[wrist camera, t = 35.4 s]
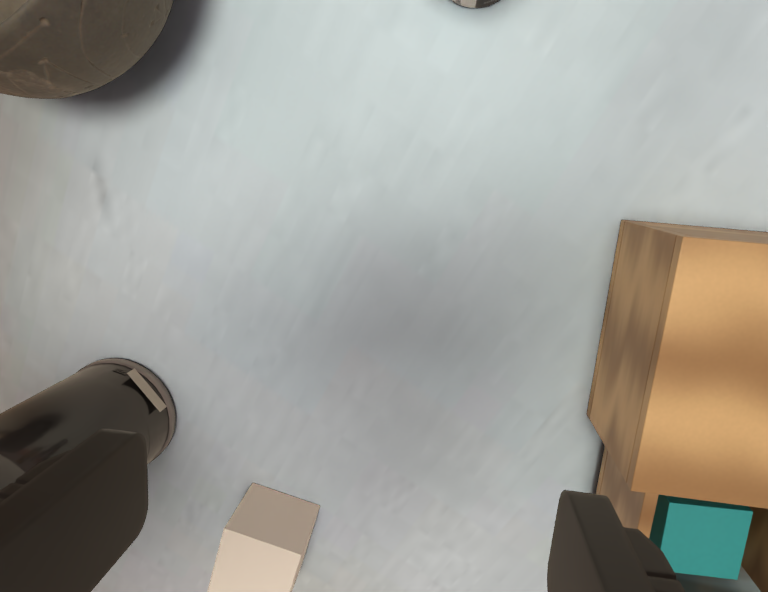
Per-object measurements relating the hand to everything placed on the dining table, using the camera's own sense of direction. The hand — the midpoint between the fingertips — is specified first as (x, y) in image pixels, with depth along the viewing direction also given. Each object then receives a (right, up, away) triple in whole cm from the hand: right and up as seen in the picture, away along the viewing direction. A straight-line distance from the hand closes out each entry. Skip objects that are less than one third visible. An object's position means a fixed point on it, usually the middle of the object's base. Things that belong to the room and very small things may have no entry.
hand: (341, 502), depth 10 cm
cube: (+22, -11, +29) cm, 38 cm away
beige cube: (-8, -15, +36) cm, 40 cm away
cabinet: (+23, +1, +28) cm, 36 cm away
